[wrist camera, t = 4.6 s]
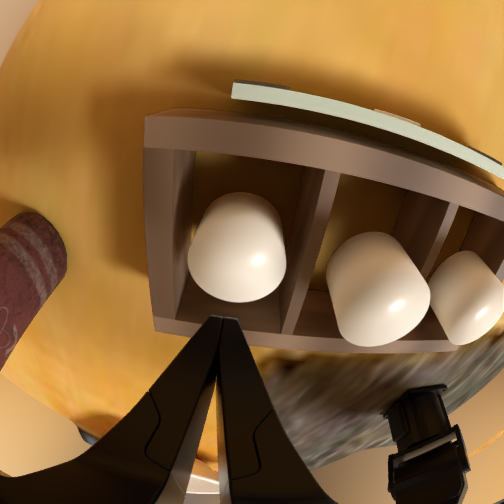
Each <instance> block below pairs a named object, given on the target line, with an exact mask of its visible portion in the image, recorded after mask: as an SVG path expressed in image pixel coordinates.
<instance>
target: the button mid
mask: <svg viewBox="0 0 504 504" xmlns="http://www.w3.org/2000/svg"><path fill="white" fill-rule="evenodd" d="M326 281H327V285H328V288H329V292H330V296H331V300H332V304H333V308H334V312H335V316H336V320H337V324H338V328H339V331H340V333H341V335H342V336H343V337H344V338H345V339H346V340H347V341H348V342H350V343H352V344H355V345H358V346H365V347H373V346H380V345H384V344H388V343H390V342H393V341H395V340H397V339H399V338H401V337H403V336H404V335H406V334H407V333H409V332H410V331H411V330H412V329H414V328H415V327H416V326H417V325H418V324H419V322H420V321H421V320H422V319H423V317H424V316H425V314H426V312H427V310H428V307H429V304H430V289H429V287H428V285H427V283H426V282H425V280H424V278H423V277H422V275H421V274H420V272H419V271H418V269H417V268H416V266H415V265H414V263H413V262H412V260H411V259H410V257H409V256H408V254H407V253H406V252H405V250H404V249H403V247H402V246H401V244H400V243H399V242H398V241H397V240H396V239H395V238H394V237H392V236H391V235H388V234H386V233H382V232H365V233H361V234H358V235H355V236H353V237H351V238H349V239H348V240H346V241H345V242H343V243H342V244H341V245H340V246H339V247H338V248H337V249H336V250H335V251H334V253H333V254H332V256H331V257H330V259H329V261H328V264H327V268H326Z"/></svg>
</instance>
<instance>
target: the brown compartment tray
mask: <svg viewBox="0 0 504 504" xmlns="http://www.w3.org/2000/svg"><path fill="white" fill-rule="evenodd" d="M196 151H203V152H213V153H222V154H230V155H239V156H246V157H254V158H261V159H267V160H274V161H280V162H286V163H292V164H298V165H304V166H305V171H304V176H303V180H302V185H301V190H300V194H299V199H298V204H297V208H296V213H295V217H294V222H293V226H292V231H291V235H290V239H289V244H288V248H287V252H286V270H285V274H284V277H283V279H282V281H281V282H280V284H279V285H278V286H277V288H276V289H275V290H273V291H272V292H271V293H270V294H268V295H266V296H265V297H263V298H260V299H258V300H254V301H250V302H229V301H225V300H221V299H218V298H216V297H214V296H212V295H210V294H208V293H207V292H205V291H204V290H203V289H202V288H201V287H200V286H199V285H198V284H197V283H196V282H195V280H194V279H193V277H192V275H191V274H190V270H189V267H188V251H189V248H190V245H191V225H192V202H193V184H194V169H195V155H196ZM341 173H344V174H348V175H353V176H357V177H362V178H366V179H370V180H374V181H378V182H382V183H386V184H390V185H394V186H397V187H401V188H405V189H407V192H406V195H405V198H404V201H403V204H402V207H401V210H400V213H399V215H398V218H397V221H396V224H395V226H394V229H393V232H392V234H391V236H392V237H394V238H395V239H396V240H397V241H398V242H399V243H400V244H401V246H402V247H403V249H404V250H405V252H406V253H407V254H408V256H409V257H410V259H411V260H412V262H413V263H414V265H415V266H416V268H417V269H418V271H419V272H420V274H421V275H422V277H423V278H424V280H425V281H426V279H427V277H428V275H429V273H430V271H431V269H432V267H433V265H434V263H435V261H436V259H437V256H438V254H439V252H440V250H441V248H442V246H443V243H444V241H445V239H446V236H447V234H448V232H449V229H450V227H451V225H452V222H453V220H454V217H455V215H456V212H457V209H458V207H459V205H460V206H463V207H466V208H469V209H472V210H475V211H476V214H475V216H474V219H473V221H472V224H471V226H470V229H469V231H468V233H467V235H466V238H465V240H464V242H463V244H462V247H461V249H460V251H472V252H474V253H476V254H477V255H478V256H479V257H480V258H481V259H482V261H483V262H484V263H485V264H486V265H487V266H488V267H489V269H490V270H491V271H492V272H493V273H494V275H495V276H496V277H497V278H498V279H499V281H500V282H501V283H502V282H503V280H504V191H503V190H502V189H500V188H499V187H497V186H495V185H493V184H491V183H489V182H487V181H485V180H483V179H481V178H478V177H476V176H474V175H472V174H470V173H467V172H465V171H463V170H460V169H458V168H455V167H453V166H451V165H448V164H446V163H443V162H440V161H438V160H435V159H433V158H430V157H427V156H424V155H422V154H419V153H416V152H413V151H410V150H407V149H404V148H401V147H398V146H395V145H392V144H388V143H385V142H382V141H378V140H375V139H371V138H368V137H364V136H360V135H357V134H353V133H349V132H345V131H341V130H337V129H332V128H328V127H323V126H319V125H314V124H309V123H304V122H299V121H293V120H288V119H282V118H276V117H269V116H262V115H255V114H248V113H239V112H230V111H220V110H209V109H194V108H172V109H169V110H165V111H161V112H158V113H154V114H151V115H147V116H145V124H144V156H143V188H144V221H145V239H146V254H147V266H148V277H149V287H150V296H151V304H152V312H153V320H154V327H155V331H158V332H163V333H169V334H174V335H180V336H186V337H192V336H193V335H194V334H195V333H196V332H197V330H198V329H199V328H200V327H201V325H202V324H203V323H204V322H205V320H206V319H207V318H208V317H209V316H210V315H216V316H222V317H223V320H224V318H225V317H231V318H237V319H238V321H239V323H240V326H241V328H242V331H243V333H244V336H245V339H246V341H247V344H248V345H249V346H258V347H268V348H279V349H290V350H304V351H320V352H341V353H424V352H444V351H456V350H457V349H458V347H459V346H460V345H454V344H452V343H451V342H450V341H449V339H448V337H447V335H446V333H445V331H444V329H443V328H442V326H441V324H440V322H439V320H438V318H437V316H436V315H435V313H434V311H433V309H432V307H431V306H430V304H429V307H428V310H427V312H426V314H425V316H424V317H423V319H422V320H421V321H420V322H419V324H418V325H417V326H416V327H415V328H414V329H412V330H411V331H410V332H409V333H407V334H406V335H404V336H403V337H401V338H399V339H397V340H395V341H393V342H390V343H388V344H384V345H380V346H373V347H365V346H358V345H355V344H352V343H350V342H348V341H347V340H346V339H345V338H344V337H343V336H342V335H341V333H340V331H339V328H338V324H337V320H336V316H335V312H334V308H333V304H332V300H331V296H330V292H327V291H318V290H309V289H308V287H309V283H310V280H311V277H312V274H313V271H314V268H315V264H316V261H317V258H318V254H319V251H320V248H321V244H322V241H323V238H324V234H325V231H326V227H327V223H328V220H329V216H330V213H331V209H332V205H333V202H334V198H335V194H336V190H337V186H338V182H339V178H340V174H341ZM460 251H459V252H460Z"/></svg>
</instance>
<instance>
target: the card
mask: <svg viewBox="0 0 504 504" xmlns="http://www.w3.org/2000/svg"><path fill="white" fill-rule="evenodd" d="M289 88H290V87H286V86H281V85H275V84H269V83H262V82H255V81H245V80H235V83H233V88H232V95H231V98H232V99H241V100H250V101H257V102H264V103H271V104H277V105H283V106H289V107H295V108H300V109H305V110H310V111H315V112H320V113H324V114H329V115H333V116H337V117H341V118H345V119H349V120H353V121H357V122H360V123H364V124H367V125H371V126H374V127H378V128H381V129H384V130H387V131H390V132H393V133H396V134H399V135H402V136H405V137H408V138H411V139H414V140H417V141H419V142H422V143H425V144H427V145H430V146H432V147H435V148H437V149H440V150H442V151H445V152H447V153H450V154H452V155H454V156H456V157H459V158H461V159H463V160H465V161H468V162H470V163H472V164H474V165H476V166H478V167H480V168H482V169H484V170H486V171H488V172H490V173H492V174H494V175H496V176H498V177H500V178H502V179H503V180H504V167H503V166H502V163H501V162H499V161H497V160H496V159H494V158H492V157H490V156H488V155H486V154H484V153H482V152H480V151H478V150H476V149H474V148H472V147H470V146H468V148H467V147H465V146H463V145H461V144H459V143H457V142H454V141H452V140H450V139H448V138H446V137H443V136H441V135H439V134H436V133H434V132H432V131H429V130H427V129H424V128H422V127H420V125H421V124H420V123H417V122H415V121H412V120H410V119H407V118H404V117H401V116H398V115H395V114H392V113H389V112H386V111H383V110H379V109H375V108H374V111H373V110H370V109H366V108H363V107H359V106H356V105H352V104H348V103H345V102H341V101H337V100H333V99H329V98H324V97H320V96H315V95H311V94H306V93H301V92H295V91H290V90H289Z"/></svg>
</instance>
